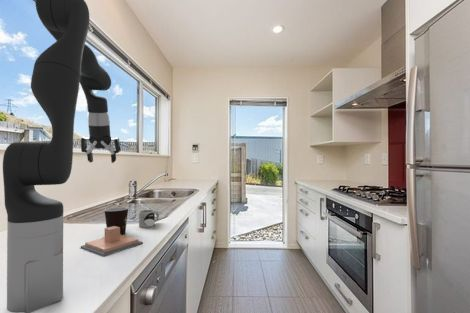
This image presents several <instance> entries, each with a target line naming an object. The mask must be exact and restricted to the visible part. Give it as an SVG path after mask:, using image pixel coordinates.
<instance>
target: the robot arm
mask: <svg viewBox="0 0 470 313" xmlns="http://www.w3.org/2000/svg"><path fill="white" fill-rule="evenodd" d="M34 3H35V9H36V14H37V16H38V18H39V20H40V22H41V23H42V25H43V26H44V27H45V29H46V30H47V31H48V32H49V34H50V35H51V36H52V37H53V38H54V39H55V40H56V41H55V42H53V43H52V44H51V45H49V46H48V48H46V49H45V50H44V51H43V52H41V53H40V55H38V57H37V58H36V59H35V62H34V65H33V69H32V74H31V80H30V89H31V92H32V94H33V96H34V98H35V99H36V101H37V103H38V105H40V107H41V108H42V110H43V112H44V113H45V114H46V116H47V118H48V121H49V122H50V124H51V131H52V132H51V134H52V135H51V140H50V141H13V142H12V143H9V144H8V146H7V147H6V148H5V151H4V154H3V158H2V177H3V178H2V179H3V191H4V192H3V193H4V207H5V208H4V209H5V210H6V214H7V217H6V218H7V229H6V230H7V231H6V232H7V234H6V235H7V237H6V310H7V311H8V312H10V313H33V312H36V311H38V310H41V309H43V308H45V307H47V306H51V305H52V304H55V303H57V302H59V301H62V300H63V299H64V297H63V295H64V203H63V202H62V201H59V200H56V199H54V198H53V199H52V198H49V197H47V196H45V195H43V194H40V192H38V191H37V190H36V188H35V186H53V185H55V186H56V185H63V184H65V183H67V181H68V180H69V178H70V176H71V173H72V168H73V159H74V158H73V154H74V131H75V130H74V129H75V128H74V127H75V116H76V109H77V103H78V97H79V91H80V87H81V88H82V91H83V93H84V94H83V95H84V97H85V100H86V105H87V106H86V107H87V122H88V123H87V124H88V135H89V137H87V136H83V137H81V138H80V146H81V147H80V150H81V153H86V156H87V158H86V159H87V162H89V163H93V162H94V156H93V151H94V150H95V149H97V150H98V149H103V150H104V149H106V150H107V151H108V152H109V153H110V158H111V164H114V163H115V162H116V160H117V154H119V153H120V152H121V151H122V150H121V144H120V138H119V137H115V138H112V137H111V126H110V123H111V120H110V116H109V112H108V111H109V110H108V100H107V98H106V97H104V96H101V95H96V94H95V93H94V91H101V92H102V91H104V92H105V91H107V90H109V89H110V88H111V86H112V79H111V77H110V75H109V73H108V72H107V71H106V70H105V68H104V67H103V66H101V64H99V61H98V59H97V57H96V55H95V52H94V51H93V49H92V48H91V47H90V46H88V44H86V41H87V37H88V32H89V27H90V9H89V7H88V5H87V3H86V1H85V0H35V2H34ZM88 143H90V144H91V145H90V146H89V148H88ZM111 143H113V144H114V147H115V148H114V147H113V145H112V144H111Z"/></svg>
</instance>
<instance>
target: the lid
mask: <svg viewBox="0 0 470 313" xmlns="http://www.w3.org/2000/svg"><path fill="white" fill-rule="evenodd" d="M138 241H139V238H135V237H132V236H128V235H126V234H124V235H121V234H120V227H117V226H112V227H108V228H107V227H105V228H104V237H102V238H98V239H93V240H91V241H87V242H85V243H84V245H85V246H87V247H90V248H93V249H96V250H99V251H102V252H109V251H112V250H115V249H118V248H121V247H124V246H127V245H131V244H134V243H137V242H138Z"/></svg>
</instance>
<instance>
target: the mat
mask: <svg viewBox="0 0 470 313" xmlns="http://www.w3.org/2000/svg"><path fill="white" fill-rule="evenodd" d="M141 244H144V243H143V241H141V240H138V242H137V243H134V244H131V245H127V246H124V247H121V248H118V249H115V250H112V251H109V252H102V251H99V250H96V249H93V248H90V247H87V246H85V244H83V245H81V246H80V249H83V250H85V251H88V252H91V253H93V254H97V255H99V256H102V257H105V256H108V255H112V254H115V253H117V252H121V251H124V250H127V249H129V248H130V249H131V248H132V247H136V246H139V245H141Z"/></svg>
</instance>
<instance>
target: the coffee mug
mask: <svg viewBox="0 0 470 313" xmlns="http://www.w3.org/2000/svg"><path fill="white" fill-rule="evenodd" d="M128 213H129V207H125V206H118V207H117V206H115V207H109V208H105V209H104V218H105V219H104V220H105V226H106V227H105V228H108V227H112V226H117V227H120V234H121V235H126V229H127V222H128V215H129V214H128Z"/></svg>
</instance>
